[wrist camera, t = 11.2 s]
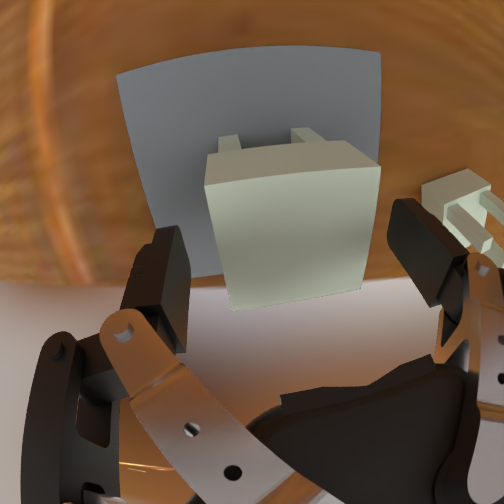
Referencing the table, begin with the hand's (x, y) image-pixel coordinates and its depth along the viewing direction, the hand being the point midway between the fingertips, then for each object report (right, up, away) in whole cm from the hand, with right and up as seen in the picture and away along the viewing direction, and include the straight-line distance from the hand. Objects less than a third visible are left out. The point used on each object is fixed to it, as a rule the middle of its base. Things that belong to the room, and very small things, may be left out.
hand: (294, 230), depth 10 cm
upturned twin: (+14, +3, +9) cm, 17 cm away
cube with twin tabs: (-1, +4, +5) cm, 6 cm away
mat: (-1, +4, +6) cm, 7 cm away
